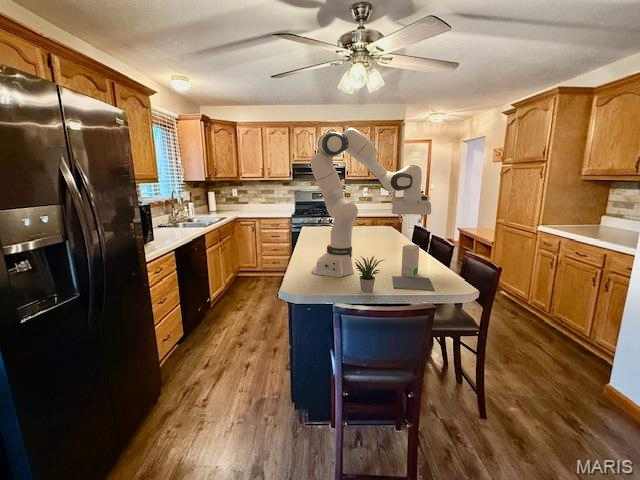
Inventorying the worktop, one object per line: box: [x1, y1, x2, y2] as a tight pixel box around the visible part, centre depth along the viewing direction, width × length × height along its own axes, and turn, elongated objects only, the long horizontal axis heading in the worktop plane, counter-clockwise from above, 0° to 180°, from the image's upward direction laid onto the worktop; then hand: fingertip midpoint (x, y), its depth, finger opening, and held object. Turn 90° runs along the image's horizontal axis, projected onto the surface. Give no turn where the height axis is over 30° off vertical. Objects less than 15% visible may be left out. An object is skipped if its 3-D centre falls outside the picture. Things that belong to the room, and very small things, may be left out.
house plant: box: [354, 255, 384, 294], centre depth 135 cm, size 14×14×16 cm
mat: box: [391, 275, 436, 292], centre depth 144 cm, size 18×16×1 cm
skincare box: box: [400, 244, 420, 277], centre depth 155 cm, size 8×7×16 cm
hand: (410, 222), depth 162 cm, fingers open, 8 cm apart
